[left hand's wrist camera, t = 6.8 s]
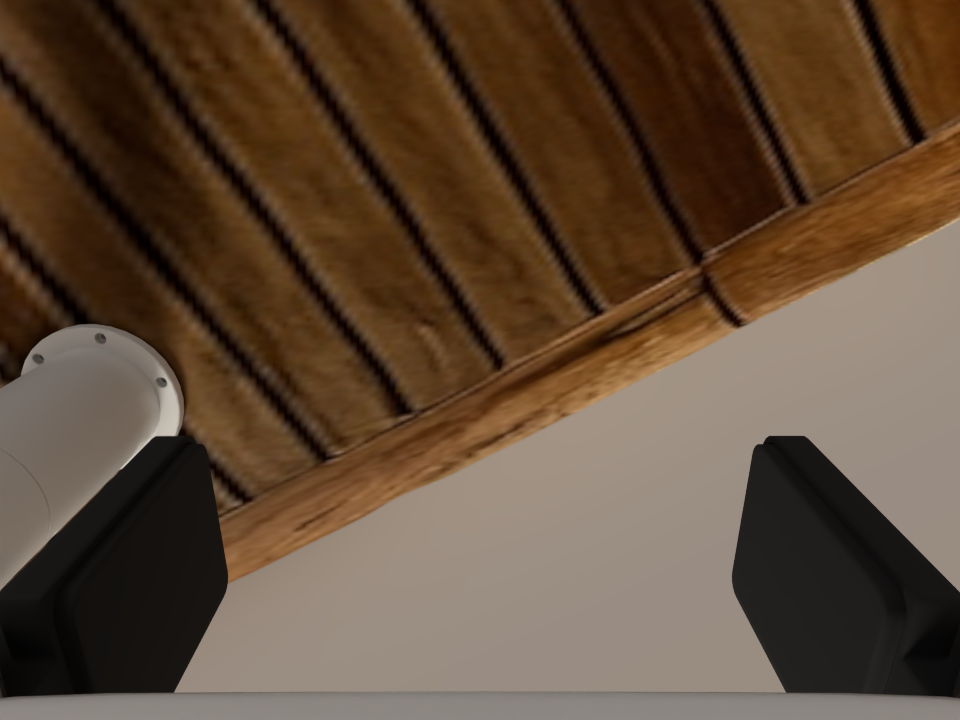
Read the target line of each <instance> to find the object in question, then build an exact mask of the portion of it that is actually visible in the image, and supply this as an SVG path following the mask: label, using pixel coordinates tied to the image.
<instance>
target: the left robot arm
mask: <svg viewBox="0 0 960 720" xmlns="http://www.w3.org/2000/svg"><path fill="white" fill-rule="evenodd" d="M183 416H184V399H183V395H182V391H181V387H180V384H179V382H178V380H177V378H176V376H175V374H174V372H173V370H172V369H171V368H170V366H169V365H168V363H167V362H166V361H165V359H164V358H163V357H162V356H161V355H160V354H159V353H158V352H157V351H156V350H155V349H154V348H152V347H151V346H150V345H148V344H147V343H146V342H144V341H143V340H141V339H140V338H138V337H136V336H134V335H132V334H130V333H128V332H126V331H123V330H120V329H117V328H114V327H111V326H105V325H98V324H80V325H75V326H71V327H66V328H64V329H61V330H59V331H57V332H55V333H53V334H51V335H49V336H48V337H46V338H44V339H43V340H41V341H40V342H39V343H38V344H37V345H36V346H35V347H34V348H33V349H32V350H31V352H30V353H29V355H28V357H27V358H26V360H25V362H24V366H23V369H22V372H21V377H19V378H17V379H16V380H14V381H12V382H11V383H9V384H7V385H5V386H4V387H2V388H0V590H1V589H2V588H3V587H4V586H5V585H6V584H7V583H8V581H9V580H10V579H11V578H12V577H13V576H14V575H15V574H16V573H17V572H18V571H19V570H20V569H21V568H22V567H23V566H24V565H25V564H26V563H27V562H28V561H29V560H30V559H31V558H32V557H33V556H34V555H35V554H36V553H37V552H38V551H39V550H40V549H41V548H42V547H43V546H44V545H45V544H46V543H47V542H48V541H49V540H50V539H51V538H52V537H53V536H54V535H55V534H56V533H57V532H58V531H59V530H60V529H61V528H62V527H63V526H64V525H65V524H66V523H67V522H68V521H69V520H70V519H71V518H72V517H73V516H74V515H75V514H76V513H77V512H78V511H79V510H80V509H81V508H82V507H83V506H84V505H85V504H86V503H87V502H88V501H89V500H90V499H91V498H92V497H93V496H94V495H95V494H96V493H97V492H98V491H99V490H100V489H101V488H102V487H103V486H104V485H105V484H106V483H107V481H108V480H109V479H110V478H111V477H112V476H113V475H114V474H115V473H116V472H117V471H118V470H119V469H121V471H120V472H119V473H118V474H117V475H116V476H115V477H114V478H113V479H112V480H111V481H110V482H109V483H108V484H107V485H106V486H105V487H104V488H103V489H102V490H101V491H100V492H99V493H98V494H97V495H96V496H95V497H94V498H93V499H92V500H91V501H90V502H89V503H88V504H87V505H86V506H85V507H84V508H83V509H82V510H81V511H80V512H79V513H78V514H77V515H76V516H75V517H74V518H73V519H72V520H71V521H70V522H69V523H68V524H67V525H66V526H65V527H64V528H63V529H62V530H61V531H60V532H59V533H58V534H57V535H56V536H55V537H54V538H53V539H52V540H51V541H50V542H49V543H48V544H47V545H46V546H45V547H44V548H43V550H42V551H41V552H40V553H39V554H38V555H37V556H36V557H35V558H34V559H33V560H32V561H31V562H30V563H29V564H28V565H27V566H26V567H25V568H24V569H23V570H22V571H21V572H20V573H19V574H18V575H17V576H16V577H15V578H14V579H13V580H12V581H11V582H10V583H9V584H8V585H7V586H6V587H5V588H4V589H3V590H2V591H1V592H0V720H960V592H959V591H958V590H957V589H956V588H955V587H954V586H953V585H952V584H951V583H950V582H949V581H948V580H947V579H946V578H945V577H944V576H943V575H942V574H941V573H940V572H939V571H938V570H937V569H936V568H935V567H934V566H933V565H932V564H931V563H930V562H929V561H928V560H927V559H926V558H925V557H924V556H923V555H922V554H921V553H920V552H919V551H918V550H917V549H916V548H915V546H913V544H912V543H911V542H910V541H909V540H908V539H907V538H906V537H905V536H904V535H903V534H902V533H901V532H900V531H899V530H898V529H897V528H896V527H895V526H894V525H893V524H892V523H891V522H890V521H889V520H888V519H887V518H886V517H885V516H884V515H883V514H882V513H881V512H880V511H879V510H878V509H877V508H876V507H875V506H874V505H873V504H872V503H871V502H870V501H869V500H868V499H867V498H866V497H865V496H864V495H863V494H862V493H861V492H860V491H859V490H858V489H857V488H856V487H855V486H854V485H853V484H852V483H851V482H850V481H849V480H848V479H847V478H846V477H845V476H844V475H843V474H842V473H841V472H840V471H839V469H838V468H837V467H836V466H835V465H834V464H832V462H831V461H830V460H829V459H828V458H827V457H826V456H825V455H824V454H823V453H822V452H821V451H820V450H819V449H818V448H817V447H816V446H815V445H814V444H813V443H812V442H811V441H810V440H809V439H808V438H806V437H805V436H769V437H767V438H766V439H765V441H764V443H763V444H758V445H756V446H755V448H754V450H753V454H752V460H751V466H750V472H749V478H748V483H747V489H746V495H745V501H744V507H743V513H742V518H741V525H740V530H739V536H738V542H737V548H736V554H735V560H734V565H733V571H732V584H733V589H734V593H735V595H736V597H737V599H738V601H739V603H740V605H741V607H742V609H743V611H744V613H745V615H746V616H747V618H748V620H749V622H750V624H751V626H752V628H753V630H754V632H755V634H756V636H757V638H758V639H759V641H760V643H761V645H762V647H763V649H764V651H765V653H766V655H767V657H768V659H769V661H770V662H771V664H772V666H773V668H774V670H775V672H776V674H777V676H778V678H779V680H780V682H781V683H782V685H783V687H784V689H785V691H786V693H745V692H744V693H743V692H231V693H230V692H229V693H174V691H175V689H176V687H177V685H178V683H179V682H180V680H181V678H182V676H183V674H184V672H185V670H186V668H187V666H188V664H189V662H190V660H191V659H192V657H193V655H194V653H195V651H196V649H197V647H198V645H199V643H200V641H201V639H202V638H203V636H204V634H205V632H206V630H207V628H208V626H209V624H210V622H211V620H212V618H213V616H214V615H215V613H216V611H217V609H218V607H219V605H220V603H221V601H222V599H223V597H224V595H225V593H226V589H227V584H228V571H227V565H226V559H225V553H224V548H223V542H222V536H221V530H220V524H219V518H218V513H217V507H216V501H215V495H214V489H213V483H212V478H211V472H210V466H209V460H208V454H207V450H206V448H205V446H204V445H202V444H197V443H196V441H195V439H194V438H193V437H191V436H177V435H178V433H179V431H180V428H181V426H182V422H183Z"/></svg>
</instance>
